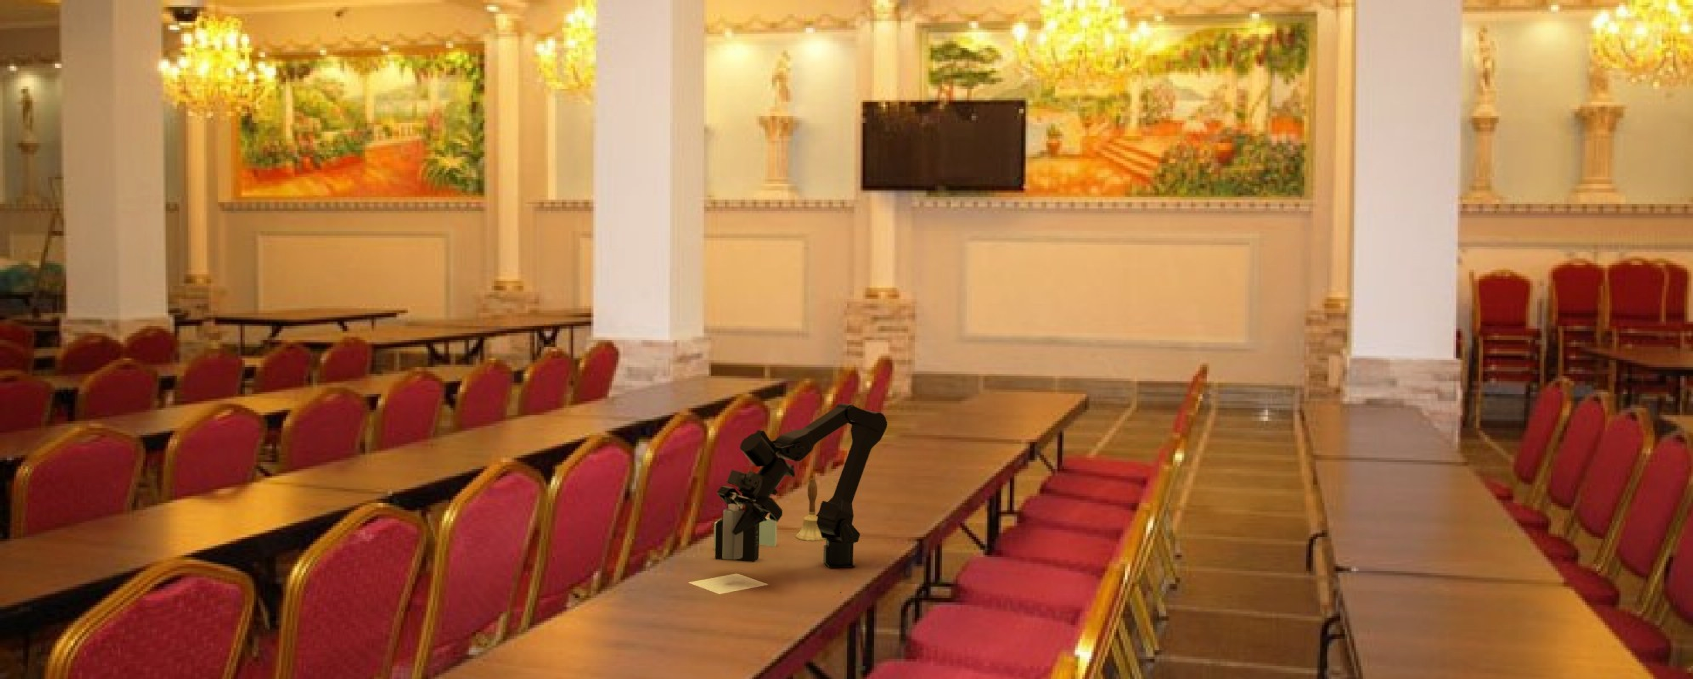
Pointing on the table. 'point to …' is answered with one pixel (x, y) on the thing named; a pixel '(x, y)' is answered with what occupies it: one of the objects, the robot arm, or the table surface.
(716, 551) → the electronic device
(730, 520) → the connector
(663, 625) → the table surface
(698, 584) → the mat
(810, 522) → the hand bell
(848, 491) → the robot arm
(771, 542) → the l-shaped corner panel
